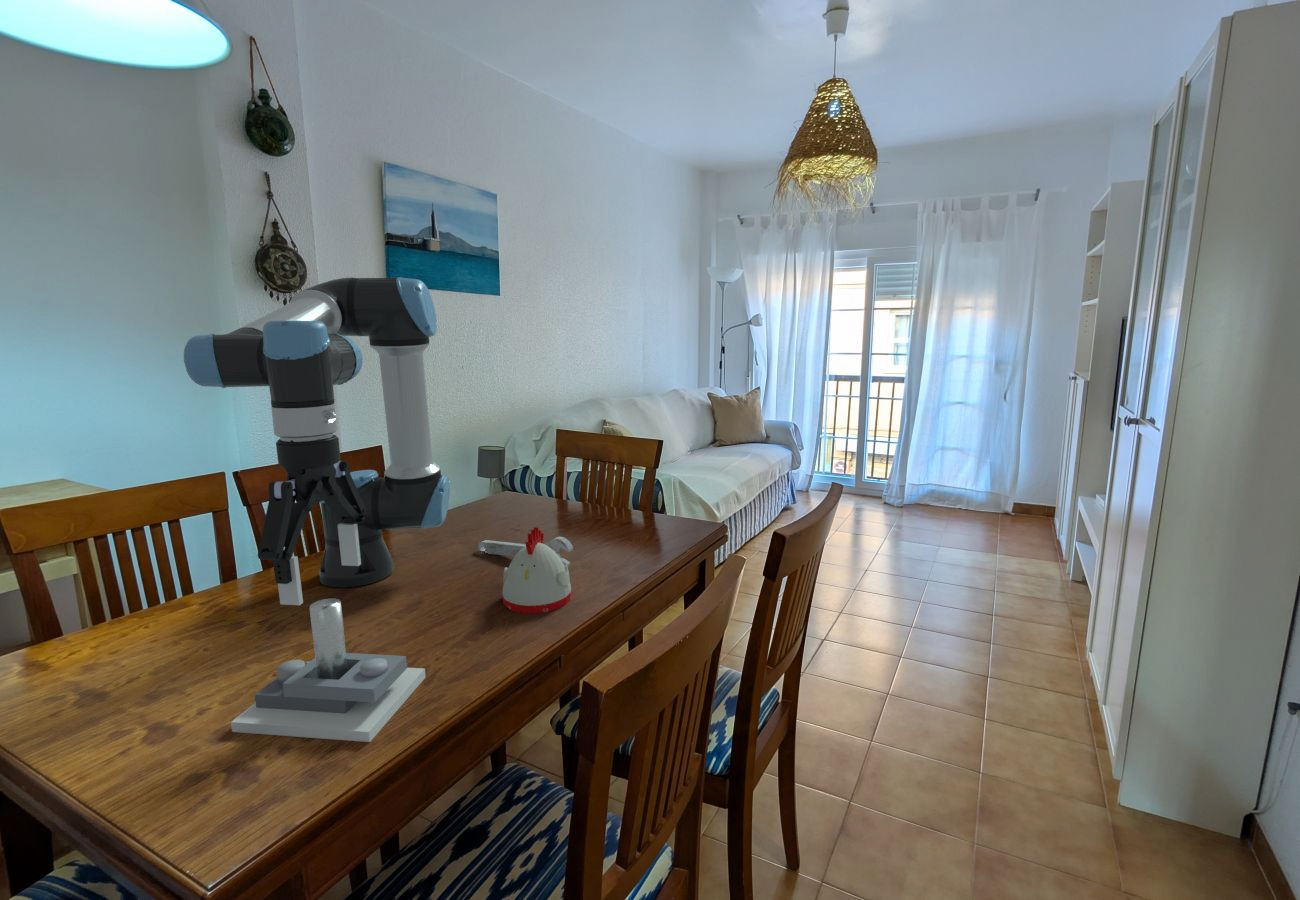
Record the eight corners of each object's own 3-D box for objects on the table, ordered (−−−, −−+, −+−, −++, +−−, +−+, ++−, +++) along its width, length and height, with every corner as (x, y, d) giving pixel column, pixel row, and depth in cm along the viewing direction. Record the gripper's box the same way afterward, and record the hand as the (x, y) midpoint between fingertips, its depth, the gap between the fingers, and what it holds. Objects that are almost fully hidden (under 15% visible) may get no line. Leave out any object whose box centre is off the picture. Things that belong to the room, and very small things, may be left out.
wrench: (485, 561, 157) (576, 572, 141) (479, 563, 156) (571, 574, 139) (481, 530, 156) (572, 537, 140) (475, 532, 155) (567, 539, 138)
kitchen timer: (491, 610, 123) (487, 537, 120) (517, 583, 136) (514, 517, 133) (559, 615, 120) (557, 541, 118) (579, 587, 134) (577, 520, 131)
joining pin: (313, 700, 90) (303, 609, 88) (330, 685, 94) (320, 597, 91) (339, 702, 90) (329, 611, 87) (355, 686, 94) (346, 599, 91)
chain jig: (232, 731, 85) (226, 688, 84) (307, 670, 101) (303, 632, 100) (369, 742, 83) (365, 697, 82) (425, 677, 99) (422, 639, 98)
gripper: (267, 455, 72) (289, 625, 76) (382, 422, 96) (393, 552, 101) (208, 454, 73) (232, 622, 77) (336, 421, 97) (349, 550, 102)
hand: (323, 583), depth 89 cm, fingers open, 13 cm apart
